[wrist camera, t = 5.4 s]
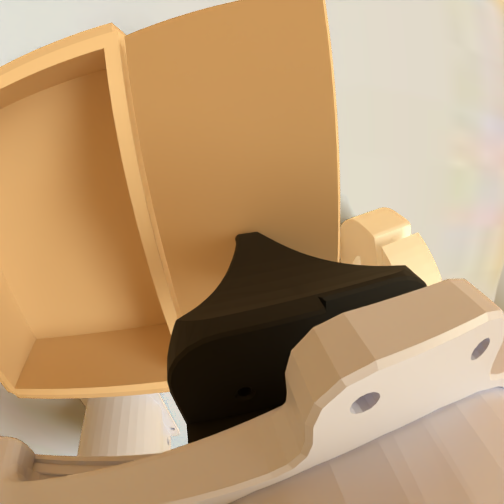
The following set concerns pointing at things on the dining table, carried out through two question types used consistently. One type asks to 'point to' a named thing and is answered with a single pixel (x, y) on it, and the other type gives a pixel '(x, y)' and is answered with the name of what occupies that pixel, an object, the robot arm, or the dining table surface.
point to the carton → (78, 229)
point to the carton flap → (237, 134)
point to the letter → (386, 244)
